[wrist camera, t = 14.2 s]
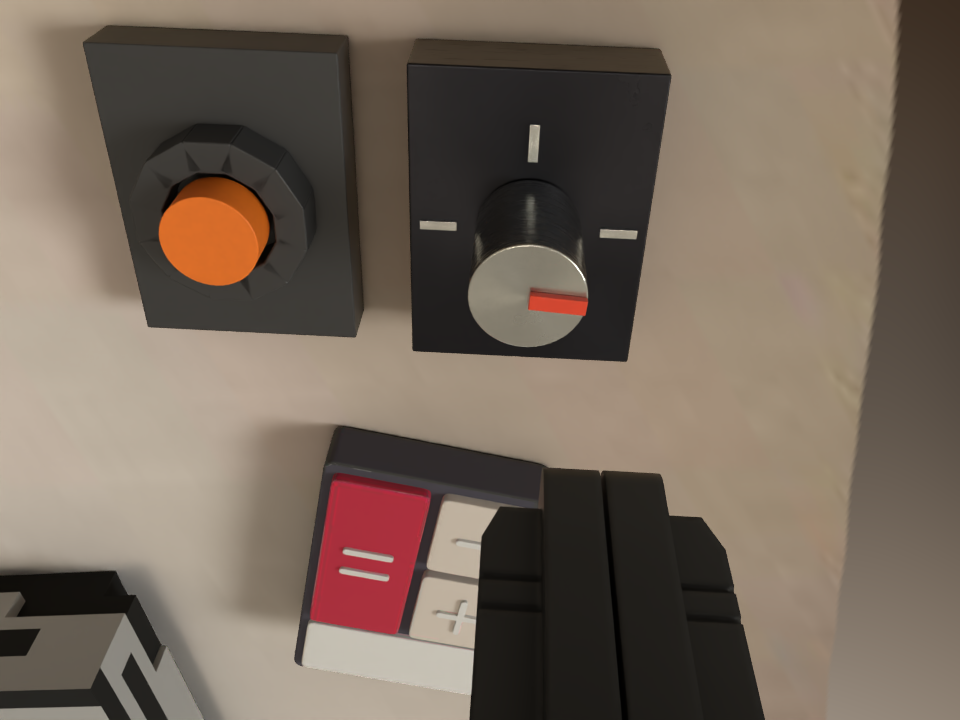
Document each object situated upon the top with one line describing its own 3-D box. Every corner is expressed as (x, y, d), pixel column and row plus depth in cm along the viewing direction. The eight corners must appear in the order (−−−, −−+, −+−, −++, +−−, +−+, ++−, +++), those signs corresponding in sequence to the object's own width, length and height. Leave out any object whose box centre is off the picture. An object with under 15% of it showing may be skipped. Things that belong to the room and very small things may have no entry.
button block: (106, 25, 33) (59, 57, 29) (347, 35, 32) (327, 69, 29) (164, 300, 40) (132, 351, 36) (363, 310, 39) (348, 362, 36)
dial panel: (415, 38, 32) (405, 64, 30) (661, 48, 32) (672, 76, 30) (419, 313, 39) (411, 354, 37) (621, 323, 39) (627, 365, 37)
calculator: (554, 516, 41) (485, 710, 49) (551, 457, 45) (487, 647, 53) (320, 472, 40) (289, 677, 48) (337, 416, 44) (305, 615, 52)
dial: (470, 268, 34) (462, 345, 30) (480, 173, 32) (473, 242, 28) (572, 280, 34) (578, 358, 30) (589, 185, 32) (598, 256, 28)
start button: (166, 173, 32) (149, 194, 31) (264, 178, 32) (252, 199, 31) (182, 260, 34) (167, 283, 33) (275, 265, 34) (264, 288, 33)
